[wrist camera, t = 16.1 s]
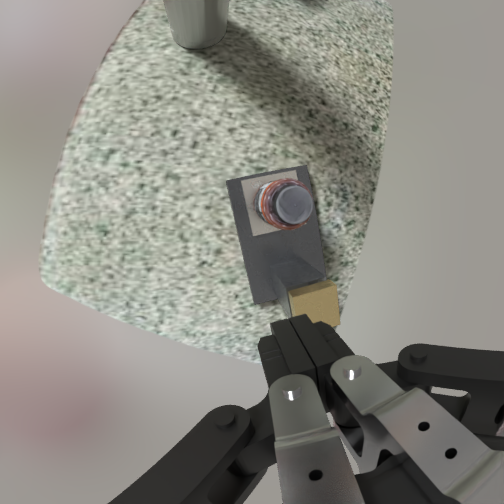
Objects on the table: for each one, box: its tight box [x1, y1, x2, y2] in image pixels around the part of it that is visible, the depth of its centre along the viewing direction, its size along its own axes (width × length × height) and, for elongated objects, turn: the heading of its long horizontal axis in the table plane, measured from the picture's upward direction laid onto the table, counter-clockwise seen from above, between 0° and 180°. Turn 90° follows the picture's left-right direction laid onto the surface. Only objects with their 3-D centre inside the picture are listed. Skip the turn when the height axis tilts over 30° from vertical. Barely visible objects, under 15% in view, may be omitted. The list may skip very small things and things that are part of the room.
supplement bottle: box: [254, 178, 313, 230], centre depth 32 cm, size 6×6×11 cm
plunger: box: [288, 280, 340, 327], centre depth 34 cm, size 5×5×12 cm
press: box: [226, 165, 327, 318], centre depth 36 cm, size 19×12×12 cm, turn 12°
